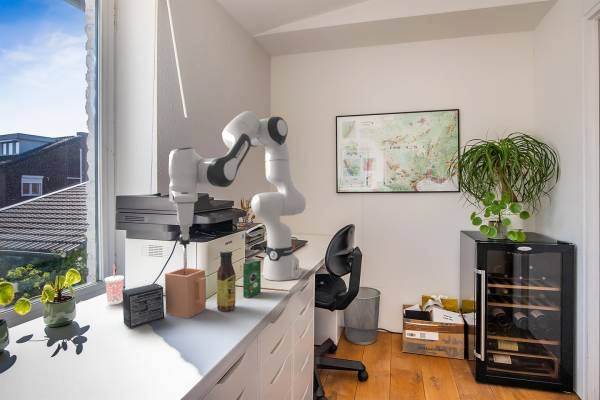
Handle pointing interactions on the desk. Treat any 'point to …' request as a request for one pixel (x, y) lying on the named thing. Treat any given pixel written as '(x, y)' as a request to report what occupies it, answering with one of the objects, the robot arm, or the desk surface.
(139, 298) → the small box
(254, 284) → the coffee box
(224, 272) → the sauce bottle
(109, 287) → the beverage cup
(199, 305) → the square terracotta mug
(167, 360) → the desk surface
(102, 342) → the desk surface
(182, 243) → the plunger
